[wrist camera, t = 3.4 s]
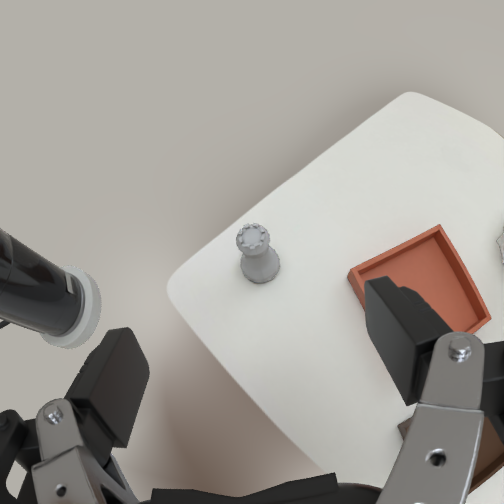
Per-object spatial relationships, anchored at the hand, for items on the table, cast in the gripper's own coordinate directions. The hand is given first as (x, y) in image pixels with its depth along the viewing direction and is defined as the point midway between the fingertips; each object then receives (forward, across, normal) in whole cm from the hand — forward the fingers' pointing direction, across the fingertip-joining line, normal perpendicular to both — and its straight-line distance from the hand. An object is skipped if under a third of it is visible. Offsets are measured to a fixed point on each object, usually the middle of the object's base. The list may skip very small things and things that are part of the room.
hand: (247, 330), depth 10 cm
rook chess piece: (+25, 0, +9) cm, 27 cm away
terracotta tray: (+19, -17, +15) cm, 29 cm away
